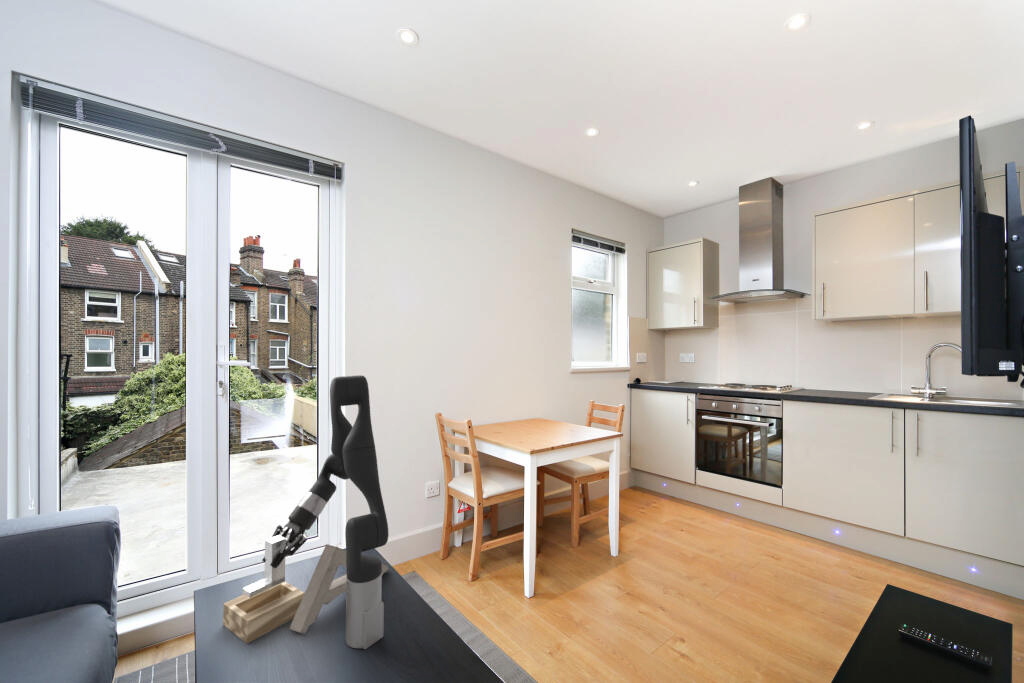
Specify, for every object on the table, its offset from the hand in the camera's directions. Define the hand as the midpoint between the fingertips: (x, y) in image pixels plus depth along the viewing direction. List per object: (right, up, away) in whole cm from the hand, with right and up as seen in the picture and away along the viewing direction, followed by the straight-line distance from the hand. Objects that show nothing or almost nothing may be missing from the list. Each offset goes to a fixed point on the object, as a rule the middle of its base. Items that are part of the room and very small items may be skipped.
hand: (269, 564), depth 125 cm
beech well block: (-1, -15, -1) cm, 15 cm away
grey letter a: (+19, -16, +9) cm, 26 cm away
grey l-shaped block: (-1, -6, -1) cm, 6 cm away
